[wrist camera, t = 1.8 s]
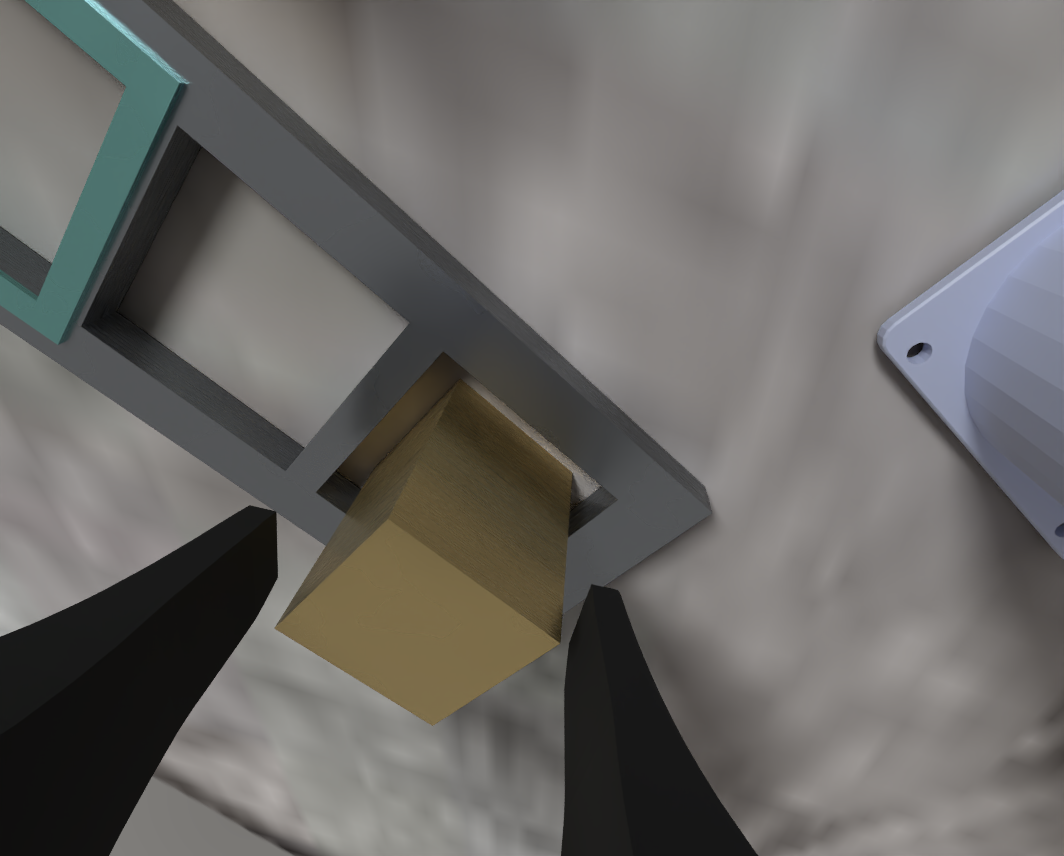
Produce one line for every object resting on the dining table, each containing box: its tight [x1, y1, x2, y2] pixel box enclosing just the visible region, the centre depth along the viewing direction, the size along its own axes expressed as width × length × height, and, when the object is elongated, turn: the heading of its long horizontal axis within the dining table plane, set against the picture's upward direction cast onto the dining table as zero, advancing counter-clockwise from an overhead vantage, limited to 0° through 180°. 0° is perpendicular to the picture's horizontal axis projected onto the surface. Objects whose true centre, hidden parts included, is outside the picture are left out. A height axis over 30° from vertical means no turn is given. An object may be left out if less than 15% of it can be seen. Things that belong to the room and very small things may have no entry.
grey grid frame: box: [0, 0, 712, 614], centre depth 14 cm, size 24×9×1 cm, turn 47°
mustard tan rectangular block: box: [275, 379, 572, 726], centre depth 14 cm, size 4×4×6 cm
